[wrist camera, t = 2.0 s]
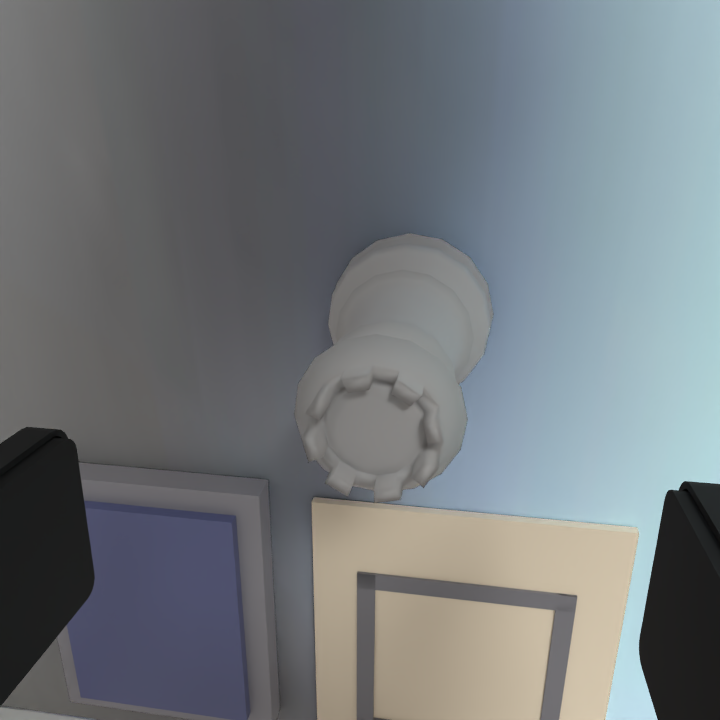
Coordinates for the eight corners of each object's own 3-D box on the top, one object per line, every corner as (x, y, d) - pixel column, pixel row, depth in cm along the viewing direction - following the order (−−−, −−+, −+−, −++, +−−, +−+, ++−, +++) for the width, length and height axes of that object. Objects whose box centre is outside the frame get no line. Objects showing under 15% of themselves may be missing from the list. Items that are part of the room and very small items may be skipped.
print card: (313, 497, 22) (310, 504, 22) (637, 527, 20) (639, 535, 20) (320, 762, 26) (317, 771, 26) (587, 803, 25) (588, 813, 24)
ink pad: (42, 459, 23) (16, 480, 22) (268, 479, 22) (255, 503, 21) (84, 680, 27) (64, 710, 26) (280, 709, 26) (269, 741, 24)
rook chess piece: (414, 410, 20) (378, 588, 13) (304, 308, 20) (200, 435, 12) (527, 309, 19) (559, 447, 11) (410, 194, 18) (363, 262, 11)
